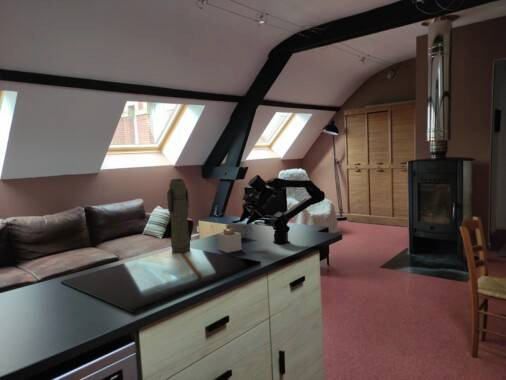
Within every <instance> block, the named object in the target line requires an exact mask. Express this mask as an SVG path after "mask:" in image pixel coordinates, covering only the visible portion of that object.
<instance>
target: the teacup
mask: <svg viewBox="0 0 506 380" xmlns="http://www.w3.org/2000/svg"><path fill="white" fill-rule="evenodd" d="M225 226H226V229H235V232H237V233H241V240H242V239H244V237H245V236H247V235H248V234H250V232H251V231H252V229H253V228H252V225H251V224H248V225H247V224H246V223H242V222H239V223H238V222H237V223H228V224H226V225H225ZM248 227H249V230H248V231H247V228H248Z"/></svg>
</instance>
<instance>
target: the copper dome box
mask: <svg viewBox="0 0 506 380" xmlns="http://www.w3.org/2000/svg"><path fill="white" fill-rule="evenodd" d="M217 242H218V243H217V246H218V250H219V251H221V252H223V253H227V254H228V253H233V252H238V251H242V239H241V233H237V232H235V233H234V234H223V232H219V233H217Z"/></svg>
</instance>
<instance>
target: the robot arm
mask: <svg viewBox="0 0 506 380" xmlns="http://www.w3.org/2000/svg"><path fill="white" fill-rule="evenodd" d="M247 184H248V186H250V188H252V189H253V191H255V192H256V193H258V195H256V194H253V193H251V194H247V193H243V196H242V201H245V202H243V203H242V205H241V208H242V213H241V215H240V218H239V223H242V222H244V221H245V220H246V219H247V220H246V223H245V224H246V225H251V224H252V223H254V222H256V221H259V220H260V219H263V218H265V217H266V216H267V213H268V212H267V211H266V210H265V208H264V207H265V206H268V202H269V200H270V199H271V198H272V197H273V198H277V197H278V194H277V190H282V189H283V190H284V189H286V188H304V189H305V192H306V194H307V195H306V196H305V198H303V199H302V200H301V201H299V202H298V203H296V204H294V205H293V206H292V207H290V208H289V209H288V210H286V211H284V212H281V211H277V212H276V213H275V214H273V215H272V217H270V219H269V225H270V226H271V228H272V229H273V232H274V233H273V241H272V243H273V244H277V245H284V244H285V245H286V244H290V243H291V241H289V232H290V226H289V225H288V224H289V221H290V220H291V219H293V218H294V217H296V216H297V215H299V214H300V213H301V212H303V211H305V210H306V209H307V208H309V207H310V206H313V205H316V204H319V203H321V202H323V201H324V200H325V198H326V193H325V192H324V190H321V189H320V187H318V185H316V184H314V182H313V180H310V179H304V180H302V179H301V180H300V179H299V180H298V179H296V180H295V179H284V178H279V177H270V178H269V179H268V180H264V179H263V178H262V177H261V175H259V174H256V175H255V176H253V177H252V178H251V179H250V180H249V182H248V183H247ZM275 190H276V191H275Z"/></svg>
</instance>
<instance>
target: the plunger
mask: <svg viewBox="0 0 506 380" xmlns="http://www.w3.org/2000/svg"><path fill="white" fill-rule="evenodd" d="M222 233H223V234H234V233H235V229H227V228H224V229H223V231H222Z"/></svg>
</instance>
